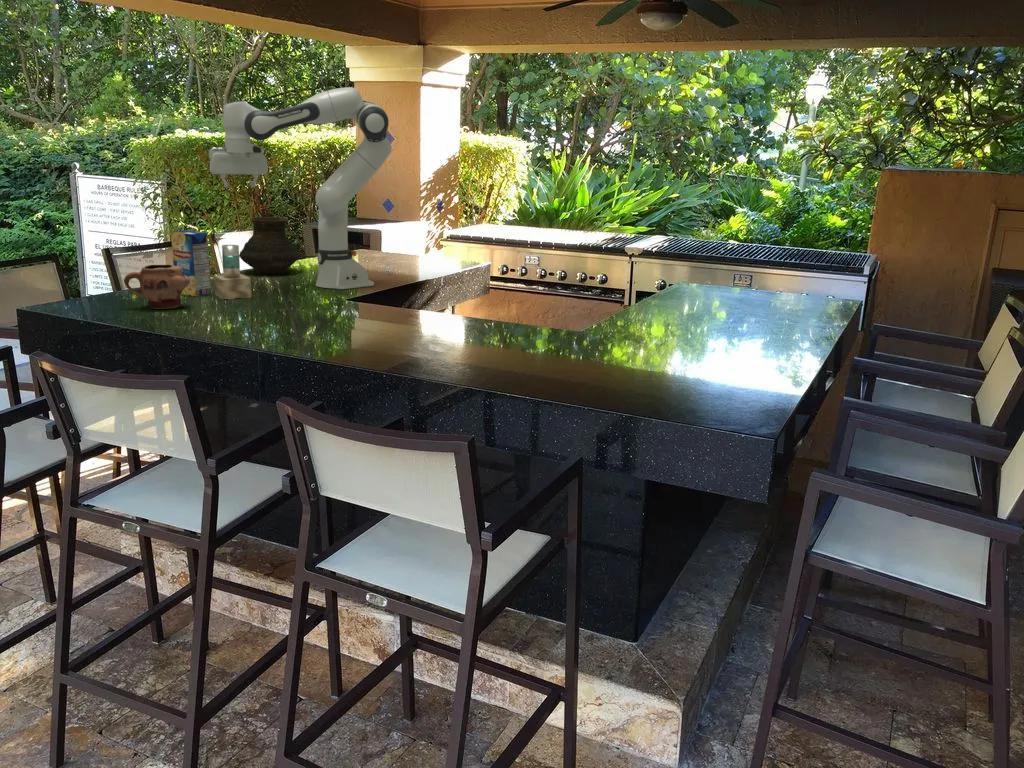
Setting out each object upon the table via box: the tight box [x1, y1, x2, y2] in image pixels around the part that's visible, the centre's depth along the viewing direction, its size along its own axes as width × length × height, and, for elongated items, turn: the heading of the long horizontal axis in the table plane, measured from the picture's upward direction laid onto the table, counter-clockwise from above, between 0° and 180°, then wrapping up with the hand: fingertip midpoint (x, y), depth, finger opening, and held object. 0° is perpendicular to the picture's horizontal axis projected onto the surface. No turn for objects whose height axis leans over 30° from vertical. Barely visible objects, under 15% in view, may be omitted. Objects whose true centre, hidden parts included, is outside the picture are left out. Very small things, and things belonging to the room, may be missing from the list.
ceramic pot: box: [239, 216, 301, 275], centre depth 356 cm, size 24×24×22 cm
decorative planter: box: [123, 264, 190, 310], centre depth 281 cm, size 20×12×14 cm, turn 117°
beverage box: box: [170, 229, 212, 297], centre depth 305 cm, size 7×11×22 cm, turn 59°
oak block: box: [213, 273, 252, 301], centre depth 304 cm, size 10×10×7 cm
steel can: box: [221, 244, 241, 278], centre depth 302 cm, size 6×6×11 cm
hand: (240, 187), depth 312 cm, fingers open, 8 cm apart
